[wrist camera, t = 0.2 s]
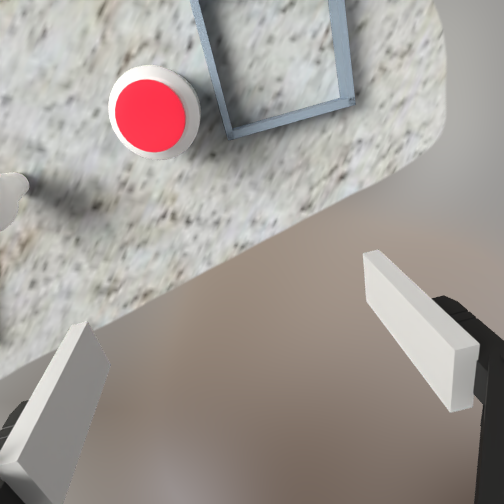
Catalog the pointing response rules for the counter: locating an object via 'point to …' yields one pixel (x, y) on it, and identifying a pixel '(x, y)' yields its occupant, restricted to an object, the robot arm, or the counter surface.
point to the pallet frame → (345, 100)
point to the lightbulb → (11, 196)
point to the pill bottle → (154, 112)
